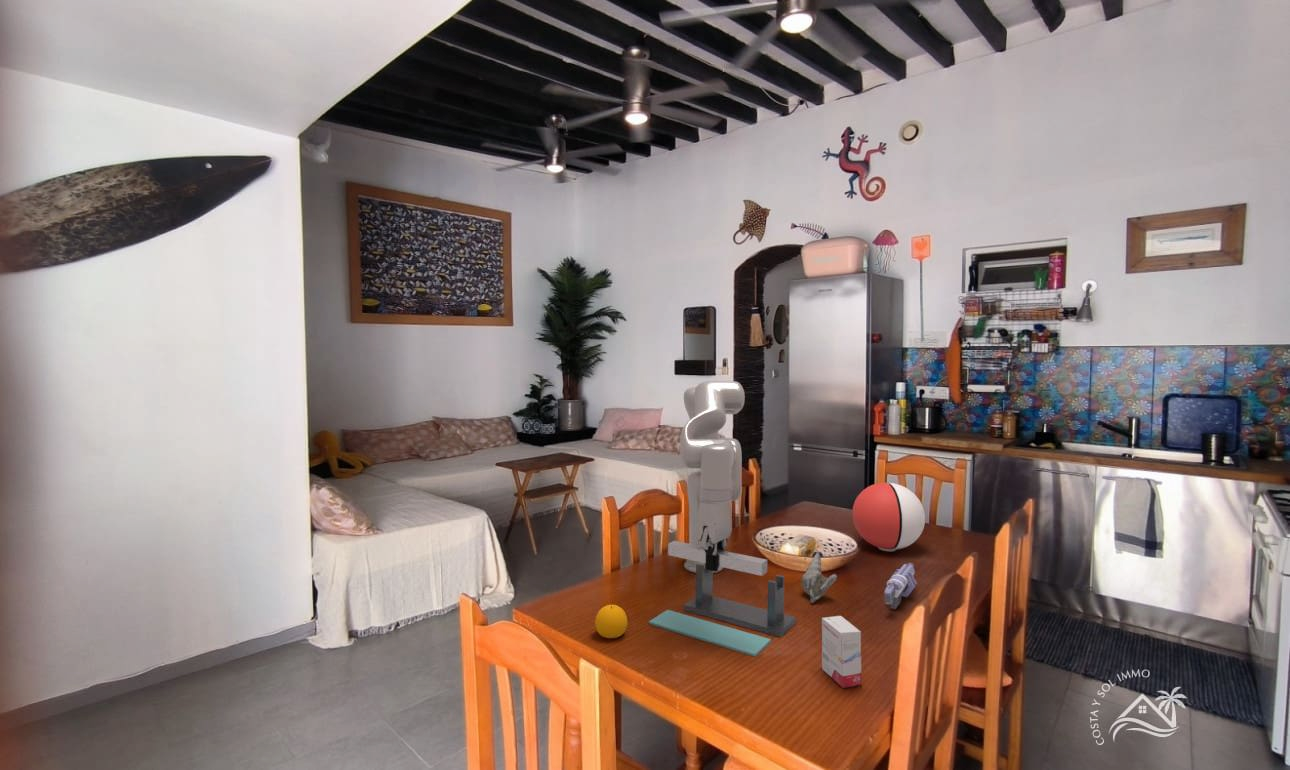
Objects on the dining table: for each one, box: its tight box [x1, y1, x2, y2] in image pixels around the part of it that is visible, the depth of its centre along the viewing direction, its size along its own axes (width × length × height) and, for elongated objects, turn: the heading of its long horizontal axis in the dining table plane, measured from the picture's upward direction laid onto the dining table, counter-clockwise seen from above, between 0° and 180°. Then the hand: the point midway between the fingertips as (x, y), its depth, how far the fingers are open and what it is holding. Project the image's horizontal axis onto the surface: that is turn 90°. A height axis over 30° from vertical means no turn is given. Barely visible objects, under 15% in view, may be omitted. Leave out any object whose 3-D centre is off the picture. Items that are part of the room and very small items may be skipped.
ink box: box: [821, 615, 863, 689], centre depth 135 cm, size 9×5×12 cm, turn 13°
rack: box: [683, 563, 797, 638], centre depth 166 cm, size 28×10×12 cm, turn 55°
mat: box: [648, 609, 772, 658], centre depth 157 cm, size 30×9×1 cm, turn 55°
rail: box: [667, 540, 768, 577], centre depth 154 cm, size 26×3×3 cm, turn 55°
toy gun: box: [883, 562, 918, 610], centre depth 176 cm, size 7×28×8 cm, turn 145°
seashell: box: [801, 551, 838, 604], centre depth 180 cm, size 10×17×10 cm, turn 146°
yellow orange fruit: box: [594, 604, 628, 639], centre depth 155 cm, size 8×8×8 cm
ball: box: [852, 482, 926, 552], centre depth 221 cm, size 24×24×23 cm
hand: (715, 567), depth 155 cm, fingers closed on rail, 3 cm apart
